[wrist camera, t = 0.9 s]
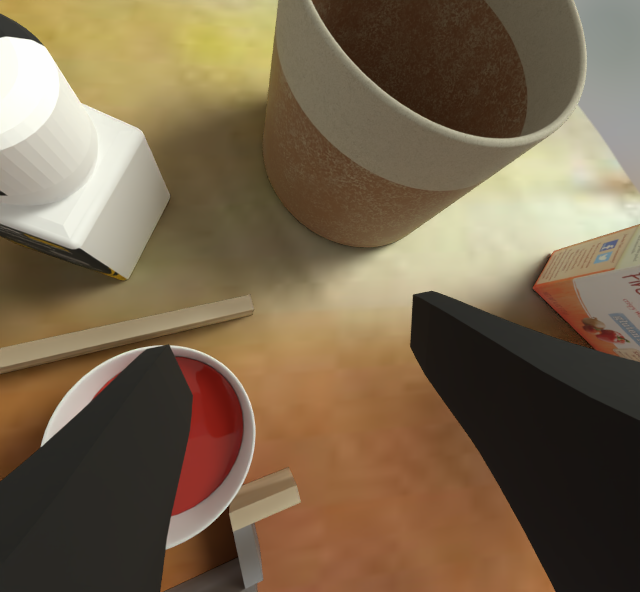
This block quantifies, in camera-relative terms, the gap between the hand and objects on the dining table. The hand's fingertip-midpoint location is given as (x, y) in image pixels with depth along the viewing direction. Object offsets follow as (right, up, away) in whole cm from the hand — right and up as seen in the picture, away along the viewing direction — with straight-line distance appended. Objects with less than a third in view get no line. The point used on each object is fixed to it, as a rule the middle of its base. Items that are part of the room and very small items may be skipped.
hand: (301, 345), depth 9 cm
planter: (+3, +13, +18) cm, 23 cm away
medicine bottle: (-15, +7, +12) cm, 20 cm away
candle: (-9, -7, +11) cm, 16 cm away
